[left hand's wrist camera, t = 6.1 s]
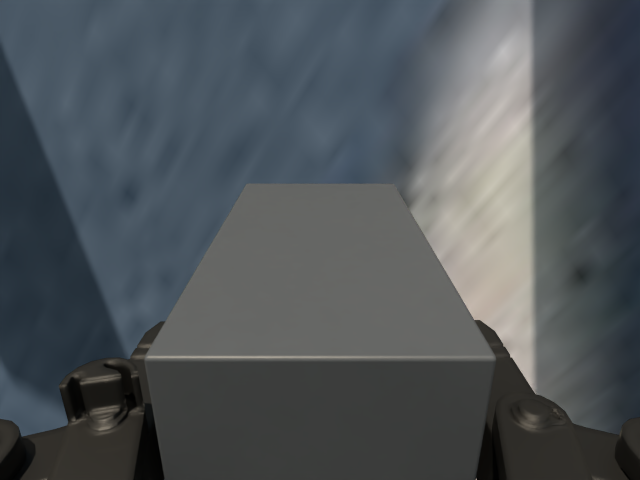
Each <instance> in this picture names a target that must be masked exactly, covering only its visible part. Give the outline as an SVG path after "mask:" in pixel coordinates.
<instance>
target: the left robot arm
mask: <svg viewBox="0 0 640 480" xmlns="http://www.w3.org/2000/svg"><path fill="white" fill-rule="evenodd" d="M474 321H475V322H476V324H477V326H478V327H479V329H480V331H481V332H482V334H483V336H484V338H485V339H486V341H487V343H488V344H489V346H490V348H491V349H492V351H493V353H494V354H495V356H496V365H495V371H494V376H493V382H492V388H491V394H490V399H489V405H488V411H487V417H486V423H485V428H484V434H483V440H482V446H481V451H480V457H479V463H478V469H477V475H476V479H477V480H640V417H639V418H633V419H629V420H628V421H627V422H625V423H624V424H623V425H622V428H621V431H620V435H616V434H612V433H608V432H603V431H599V430H595V429H590V428H586V427H583V426H579V425H576V424H573V423H572V421H571V420H570V418H569V417H568V415H567V414H566V412H565V411H564V410H563V409H562V408H560V407H559V406H558V405H557V404H555V403H554V402H552V401H550V400H548V399H546V398H544V397H542V396H540V395H536V394H535V393H534V391H533V390H532V388H531V387H530V385H529V384H528V382H527V381H526V379H525V377H524V376H523V374H522V373H521V371H520V370H519V368H518V367H517V365H516V363H515V362H514V360H513V359H512V358H510V354H509V353H508V351H507V349H506V348H505V347H503V343H502V342H501V340H500V338H499V337H498V335H497V334H496V332H495V331H494V330H492V329H491V328H490V327H488V326H487V325H486V324H484V323H483V322H482V321H480V320H474ZM164 323H165V322H159V323H158V324H157V325H155V326H154V327H153V328H151V329H150V330H149V331H147V332H146V333H145V335H144V336H143V338H142V339H141V341H140V342H139V344H138V346H137V348H136V349H135V350H134V352H133V353H132V355H131V358H130V359H129V360H127V359H123V358H104V359H100V360H95V361H91V362H89V363H87V364H85V365H82V366H80V367H78V368H76V369H75V370H74V371H72V372H71V373H69V374H68V375H67V376H66V377H65V378H64V379H63V381H62V382H61V383H60V385H59V388H60V392H61V396H62V399H63V403H64V407H65V411H66V415H67V419H68V425H67V426H64V427H61V428H57V429H54V430H49V431H45V432H41V433H36V434H32V435H28V436H23V437H21V433H20V430H19V427H18V426H17V425H16V424H15V423H13V422H12V421H9V420H3V419H0V480H164V479H165V478H164V472H163V466H162V461H161V455H160V449H159V443H158V437H157V432H156V426H155V420H154V414H153V408H152V403H151V397H150V391H149V385H148V379H147V374H146V368H145V362H144V358H145V355H146V353H147V352H148V350H149V348H150V347H151V345H152V343H153V342H154V340H155V338H156V337H157V335H158V333H159V331H160V330H161V328H162V326H163V325H164Z"/></svg>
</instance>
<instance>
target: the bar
mask: <svg viewBox="0 0 640 480" xmlns="http://www.w3.org/2000/svg"><path fill="white" fill-rule="evenodd" d="M144 362H145V368H146V374H147V379H148V385H149V391H150V397H151V403H152V408H153V414H154V420H155V426H156V432H157V437H158V443H159V449H160V455H161V461H162V466H163V472H164V478H165V480H476V475H477V469H478V463H479V457H480V451H481V446H482V440H483V434H484V428H485V423H486V417H487V411H488V405H489V399H490V394H491V388H492V382H493V376H494V371H495V365H496V356H495V354H494V353H493V351H492V349H491V348H490V346H489V344H488V343H487V341H486V339H485V338H484V336H483V334H482V332H481V331H480V329H479V327H478V326H477V324H476V322H475V321H474V319H473V317H472V316H471V314H470V312H469V310H468V309H467V307H466V305H465V304H464V302H463V300H462V299H461V297H460V295H459V294H458V292H457V290H456V288H455V287H454V285H453V283H452V282H451V280H450V278H449V277H448V275H447V273H446V272H445V270H444V268H443V266H442V265H441V263H440V261H439V260H438V258H437V256H436V255H435V253H434V251H433V250H432V248H431V246H430V244H429V243H428V241H427V239H426V238H425V236H424V234H423V233H422V231H421V229H420V228H419V226H418V224H417V222H416V221H415V219H414V217H413V216H412V214H411V212H410V211H409V209H408V207H407V206H406V204H405V202H404V200H403V199H402V197H401V195H400V194H399V192H398V190H397V189H396V187H395V185H394V184H246V186H245V187H244V189H243V191H242V193H241V194H240V196H239V198H238V199H237V201H236V203H235V204H234V206H233V208H232V209H231V211H230V213H229V215H228V216H227V218H226V220H225V221H224V223H223V225H222V226H221V228H220V230H219V232H218V233H217V235H216V237H215V238H214V240H213V242H212V243H211V245H210V247H209V248H208V250H207V252H206V254H205V255H204V257H203V259H202V260H201V262H200V264H199V265H198V267H197V269H196V270H195V272H194V274H193V276H192V277H191V279H190V281H189V282H188V284H187V286H186V287H185V289H184V291H183V292H182V294H181V296H180V298H179V299H178V301H177V303H176V304H175V306H174V308H173V309H172V311H171V313H170V315H169V316H168V318H167V320H166V321H165V323H164V325H163V326H162V328H161V330H160V331H159V333H158V335H157V337H156V338H155V340H154V342H153V343H152V345H151V347H150V348H149V350H148V352H147V353H146V355H145V358H144Z"/></svg>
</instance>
